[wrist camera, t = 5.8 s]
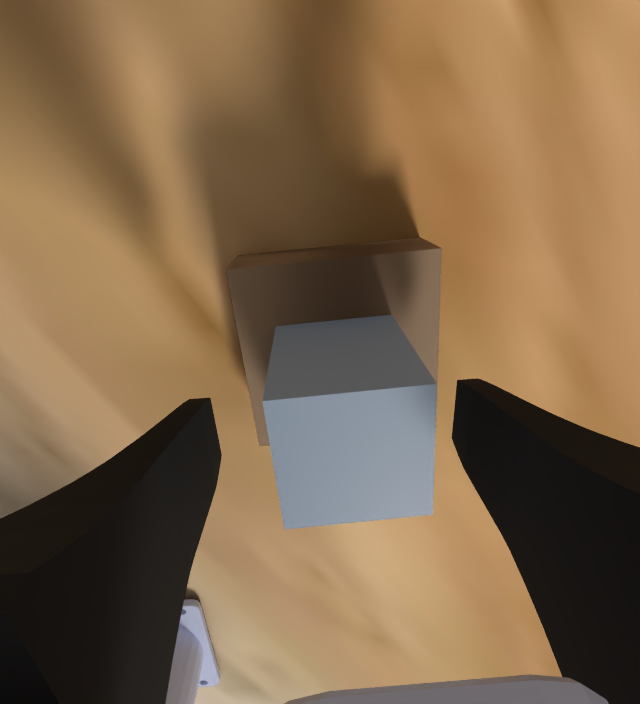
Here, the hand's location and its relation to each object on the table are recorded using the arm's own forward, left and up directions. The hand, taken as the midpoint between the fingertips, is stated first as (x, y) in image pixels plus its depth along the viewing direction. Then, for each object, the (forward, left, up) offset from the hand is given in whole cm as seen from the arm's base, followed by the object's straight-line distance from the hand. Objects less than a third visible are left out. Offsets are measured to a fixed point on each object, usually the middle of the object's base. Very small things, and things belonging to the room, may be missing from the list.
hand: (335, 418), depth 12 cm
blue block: (0, 0, -3) cm, 3 cm away
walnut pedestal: (0, 0, -6) cm, 6 cm away
